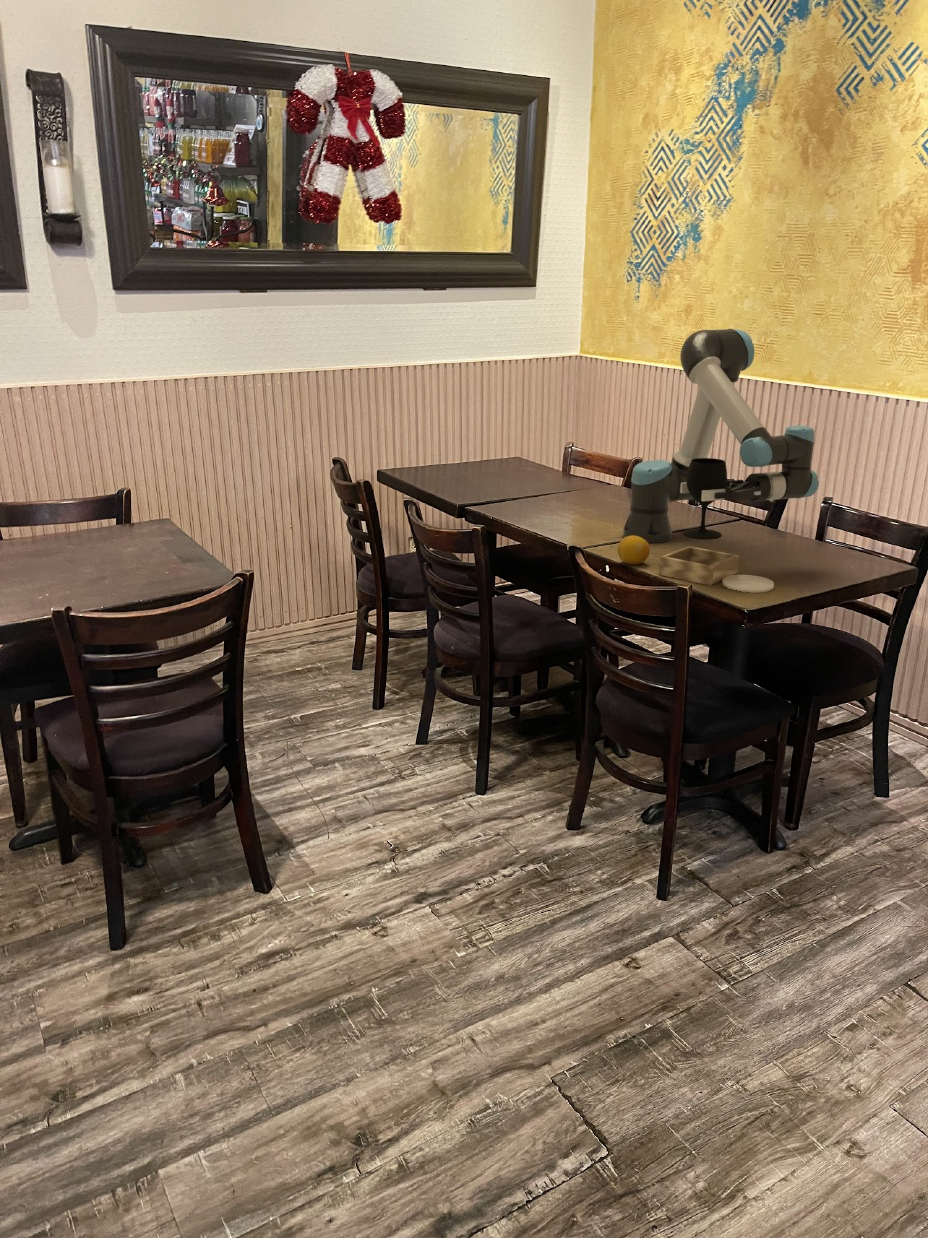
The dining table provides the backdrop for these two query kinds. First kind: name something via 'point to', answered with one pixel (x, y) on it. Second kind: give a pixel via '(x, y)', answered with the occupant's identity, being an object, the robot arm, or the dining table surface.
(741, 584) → the plate
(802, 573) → the dining table surface
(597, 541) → the dining table surface
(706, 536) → the wine glass
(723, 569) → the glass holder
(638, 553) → the fruit
